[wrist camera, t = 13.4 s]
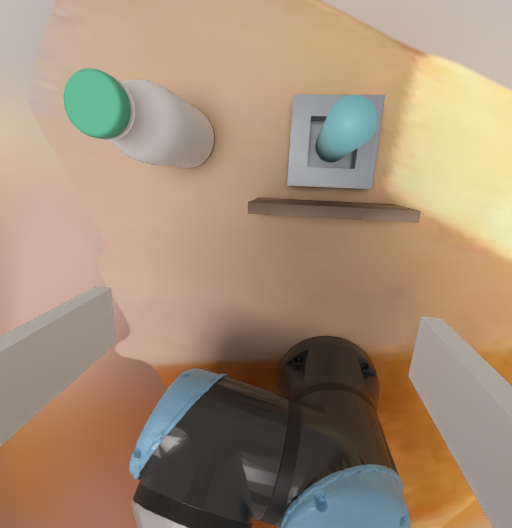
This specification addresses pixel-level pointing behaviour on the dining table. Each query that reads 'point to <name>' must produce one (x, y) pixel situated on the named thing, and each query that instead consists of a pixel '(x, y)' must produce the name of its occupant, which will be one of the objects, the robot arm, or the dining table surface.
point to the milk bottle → (139, 119)
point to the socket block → (304, 152)
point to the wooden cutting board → (333, 210)
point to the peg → (346, 127)
